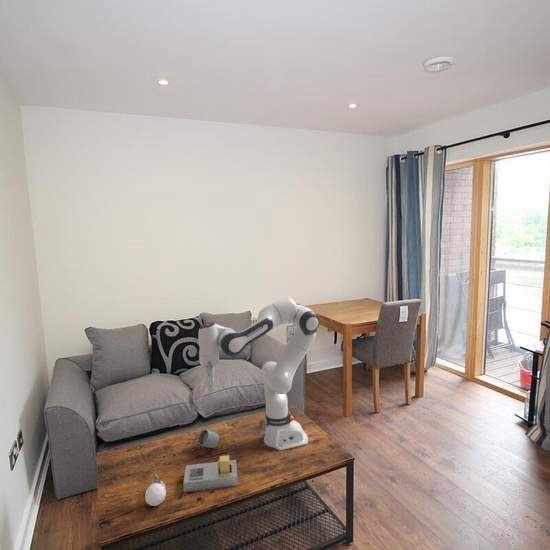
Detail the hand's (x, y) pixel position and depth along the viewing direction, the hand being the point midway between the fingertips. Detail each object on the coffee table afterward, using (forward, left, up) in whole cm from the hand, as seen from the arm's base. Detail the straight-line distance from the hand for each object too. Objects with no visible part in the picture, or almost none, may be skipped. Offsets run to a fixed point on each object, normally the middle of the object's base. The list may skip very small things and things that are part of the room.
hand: (210, 388), depth 172 cm
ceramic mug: (+3, -12, -35) cm, 37 cm away
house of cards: (+24, +19, -36) cm, 47 cm away
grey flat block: (+1, +14, -35) cm, 38 cm away
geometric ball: (+22, +25, -35) cm, 49 cm away
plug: (-5, +14, -35) cm, 38 cm away
